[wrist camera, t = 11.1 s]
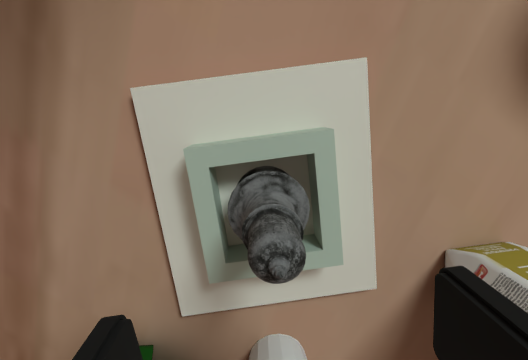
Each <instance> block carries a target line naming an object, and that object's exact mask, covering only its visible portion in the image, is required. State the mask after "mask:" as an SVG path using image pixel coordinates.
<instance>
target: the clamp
mask: <svg viewBox="0 0 528 360" xmlns="http://www.w3.org/2000/svg"><path fill="white" fill-rule="evenodd" d="M139 348H140V351H141V355H142V358H143V360H152V354H153V345H143V346H139Z"/></svg>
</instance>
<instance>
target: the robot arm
mask: <svg viewBox="0 0 528 360" xmlns="http://www.w3.org/2000/svg"><path fill="white" fill-rule="evenodd" d="M433 347H434V351H435V353H436V355H437V357H438V359H439V360H528V313H527V312H525V311H524V310H523V309H521V308H520V307H519V306H517V305H516V304H515V303H513V302H512V301H511V300H509V299H508V298H506V297H505V296H504V295H502V294H501V293H500V292H498V291H497V290H496V289H494V288H493V287H492V286H490V285H489V284H487V283H486V282H485V281H483V280H482V279H481V278H479V277H478V276H477V275H475V274H474V273H473V272H471V271H470V270H468V269H467V268H466V267H464V266H454V267H447V268H442V269H441V270H440V271H439V274H437V275H436V276H435V299H434V336H433ZM72 360H143V358H142V355H141V351H140V348H139V344H138V341H137V337H136V334H135V331H134V327H133V324H132V321H131V320H130V319H126V317H125V316H124V315H117V316H110V317H104V318H101V320H100V321H99V322H98V323H97V325H96V326H95V328H94V329H93V330H92V332H91V333H90V335H89V336H88V338H87V339H86V341H85V342H84V343H83V345H82V346H81V348H80V349H79V351H78V352H77V353H76V355H75V356H74V358H73V359H72Z"/></svg>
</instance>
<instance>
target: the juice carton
mask: <svg viewBox="0 0 528 360" xmlns="http://www.w3.org/2000/svg"><path fill="white" fill-rule="evenodd" d="M454 266H464V267H466V268H467V269H468V270H470V271H471V272H473V273H474V274H475V275H477V276H478V277H479V278H481V279H482V280H483V281H485V282H486V283H487V284H489V285H490V286H492V287H493V288H494V289H496V290H497V291H498V292H500V293H501V294H502V295H504V296H505V297H506V298H508V299H509V300H511V301H512V302H513V303H515V304H516V305H517V306H519V307H520V308H521V309H523V310H524V311H525V312H527V313H528V248H527V247H524V246H521V245H518V244H515V243H511V242H501V243H494V244H486V245H479V246H471V247H464V248H456V249H450V250H446V253H445V268H447V267H454Z"/></svg>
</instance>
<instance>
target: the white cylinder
mask: <svg viewBox="0 0 528 360" xmlns="http://www.w3.org/2000/svg"><path fill="white" fill-rule="evenodd" d="M249 360H307V357H306V355H305V352H304V349H303V347H302V346H301V344H300V343H299V341H297V340H296V339H294V338H293V337H291V336H289V335H283V334H274V335H268V336H266V337H264V338H262V339H260V340H258V341H257V343H256V344H255V345H254V346H253V347H252V349H251V352H250V356H249Z"/></svg>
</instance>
